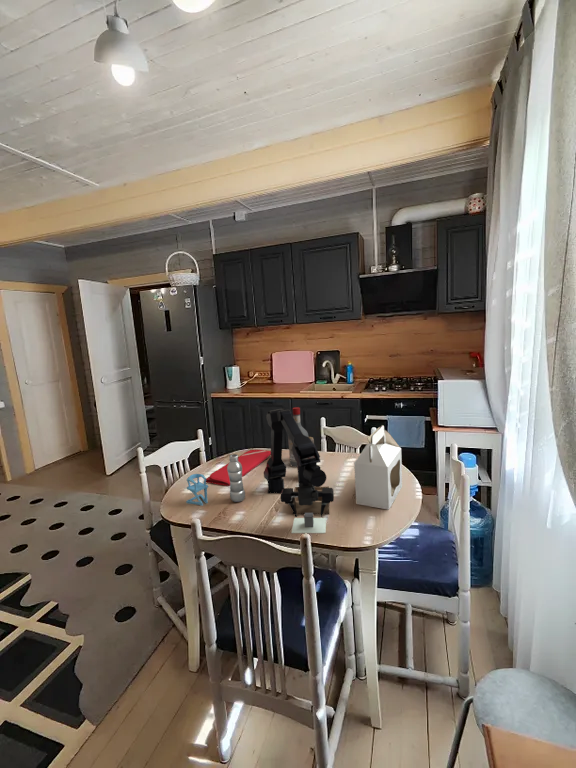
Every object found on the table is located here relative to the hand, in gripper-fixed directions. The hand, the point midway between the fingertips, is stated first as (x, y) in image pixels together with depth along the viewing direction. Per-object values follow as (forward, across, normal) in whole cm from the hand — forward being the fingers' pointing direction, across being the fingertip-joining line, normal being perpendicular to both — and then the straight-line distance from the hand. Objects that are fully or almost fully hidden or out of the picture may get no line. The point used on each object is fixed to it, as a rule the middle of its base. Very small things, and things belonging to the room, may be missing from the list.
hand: (308, 516), depth 137 cm
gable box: (+4, +28, +24) cm, 37 cm away
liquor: (+4, -9, +59) cm, 60 cm away
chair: (+4, -49, +19) cm, 53 cm away
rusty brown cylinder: (+4, -3, +41) cm, 41 cm away
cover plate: (+4, 0, 0) cm, 4 cm away
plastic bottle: (+4, -32, +20) cm, 38 cm away
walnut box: (+4, 0, +14) cm, 14 cm away
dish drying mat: (+4, -40, +55) cm, 68 cm away
